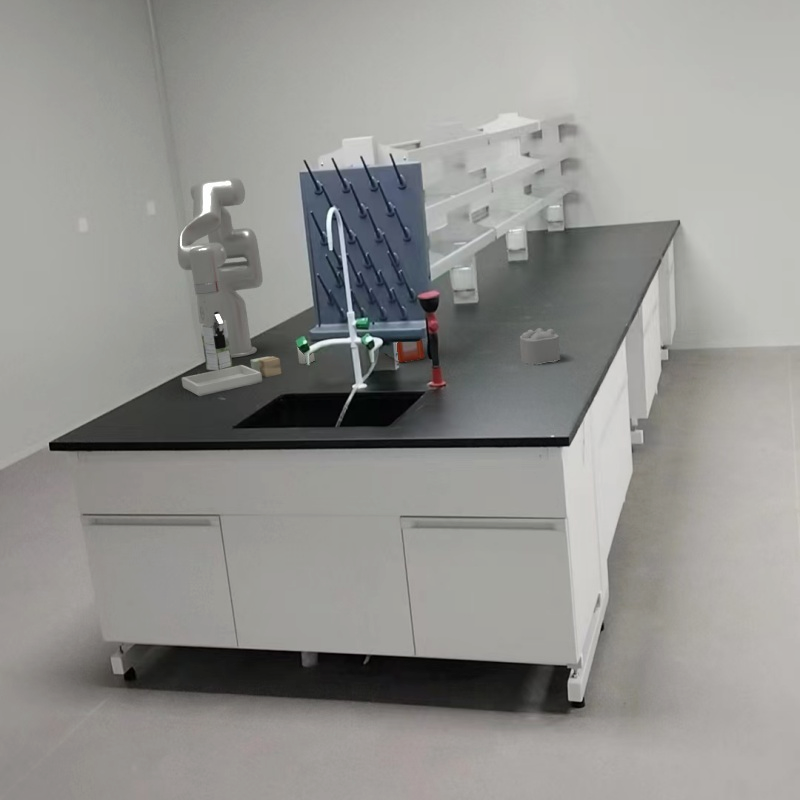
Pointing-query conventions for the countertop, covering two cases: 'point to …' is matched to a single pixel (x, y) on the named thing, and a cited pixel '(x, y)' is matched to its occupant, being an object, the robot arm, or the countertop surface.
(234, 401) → the countertop surface
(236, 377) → the grey tray
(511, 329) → the countertop surface
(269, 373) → the beech cube
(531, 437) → the countertop surface
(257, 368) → the sage block
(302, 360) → the pale grey block
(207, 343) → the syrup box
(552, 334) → the lumpy-topped squat cylinder
